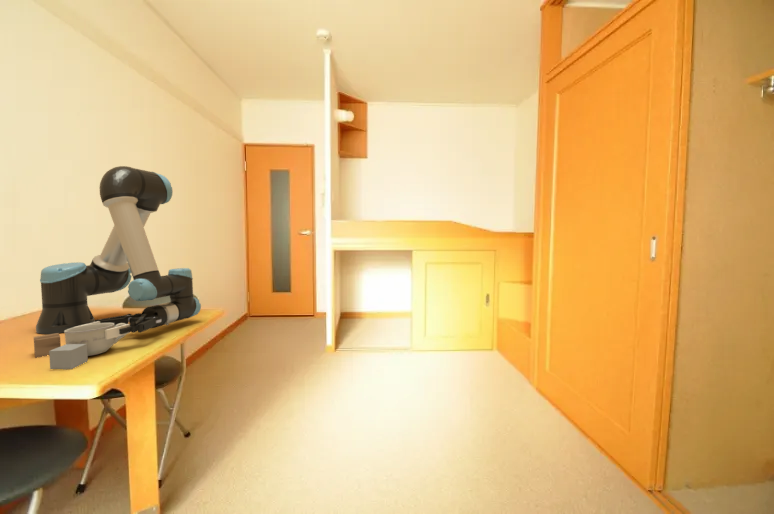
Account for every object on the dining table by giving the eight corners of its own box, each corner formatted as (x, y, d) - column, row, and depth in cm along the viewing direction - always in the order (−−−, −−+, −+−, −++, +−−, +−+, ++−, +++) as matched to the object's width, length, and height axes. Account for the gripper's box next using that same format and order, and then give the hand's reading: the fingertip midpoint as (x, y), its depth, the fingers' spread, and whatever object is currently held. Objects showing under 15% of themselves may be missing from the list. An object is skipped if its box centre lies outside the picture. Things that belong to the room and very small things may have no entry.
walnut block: (34, 353, 93) (33, 336, 93) (59, 349, 97) (58, 332, 96) (35, 358, 90) (34, 340, 89) (60, 353, 94) (60, 336, 93)
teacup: (59, 363, 86) (58, 333, 86) (72, 350, 96) (71, 323, 95) (126, 353, 93) (124, 326, 93) (132, 343, 103) (131, 318, 102)
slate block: (50, 370, 82) (49, 350, 82) (67, 362, 87) (66, 344, 87) (72, 369, 83) (71, 350, 82) (87, 361, 88) (86, 343, 87)
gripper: (187, 328, 112) (123, 349, 91) (133, 323, 117) (60, 342, 96) (187, 306, 112) (122, 323, 90) (132, 302, 117) (59, 317, 95)
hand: (90, 333), depth 93 cm, fingers closed on teacup, 11 cm apart
